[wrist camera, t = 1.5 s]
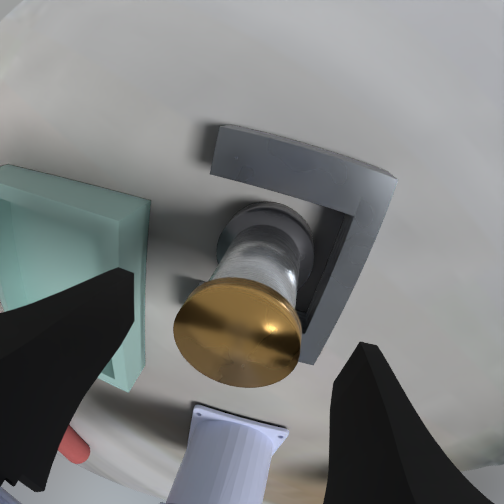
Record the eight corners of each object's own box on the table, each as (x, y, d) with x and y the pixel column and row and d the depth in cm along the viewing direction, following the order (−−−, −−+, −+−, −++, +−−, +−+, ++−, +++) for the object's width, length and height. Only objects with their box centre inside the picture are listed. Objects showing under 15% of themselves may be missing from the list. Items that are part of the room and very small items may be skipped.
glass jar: (298, 293, 16) (284, 405, 9) (217, 269, 16) (162, 367, 10) (326, 217, 14) (335, 311, 7) (234, 190, 14) (169, 261, 8)
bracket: (314, 343, 17) (313, 365, 15) (196, 308, 17) (185, 327, 16) (387, 171, 12) (398, 180, 10) (231, 124, 12) (219, 126, 11)
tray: (145, 364, 21) (128, 392, 18) (27, 304, 22) (8, 322, 19) (150, 200, 15) (119, 220, 12) (7, 164, 16) (-23, 175, 13)
